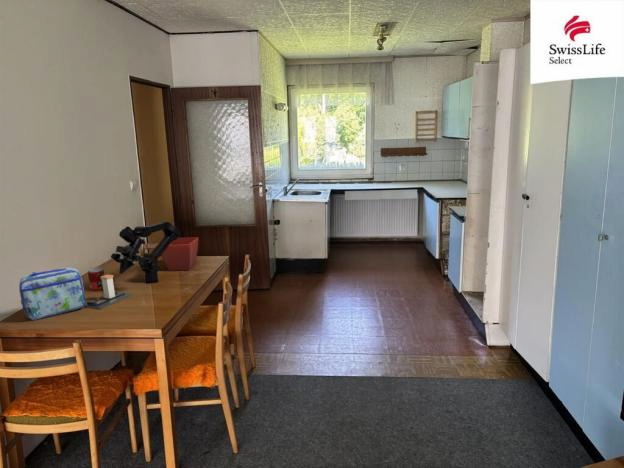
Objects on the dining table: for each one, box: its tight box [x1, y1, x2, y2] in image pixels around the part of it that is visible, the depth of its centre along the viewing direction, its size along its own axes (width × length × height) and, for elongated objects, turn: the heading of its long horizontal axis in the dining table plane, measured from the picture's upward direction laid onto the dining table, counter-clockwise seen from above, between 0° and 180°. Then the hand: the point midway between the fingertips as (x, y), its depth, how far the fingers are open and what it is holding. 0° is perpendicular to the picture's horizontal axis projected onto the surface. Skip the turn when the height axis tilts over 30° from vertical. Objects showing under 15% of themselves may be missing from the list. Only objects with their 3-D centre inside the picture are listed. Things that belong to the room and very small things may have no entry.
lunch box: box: [18, 267, 87, 321], centre depth 219 cm, size 26×11×21 cm, turn 123°
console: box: [83, 290, 133, 310], centre depth 234 cm, size 20×12×3 cm, turn 156°
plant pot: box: [160, 236, 199, 272], centre depth 285 cm, size 19×19×17 cm
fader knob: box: [100, 274, 115, 299], centre depth 234 cm, size 4×4×11 cm
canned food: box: [87, 266, 105, 292], centre depth 253 cm, size 8×8×11 cm
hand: (120, 273), depth 241 cm, fingers closed
